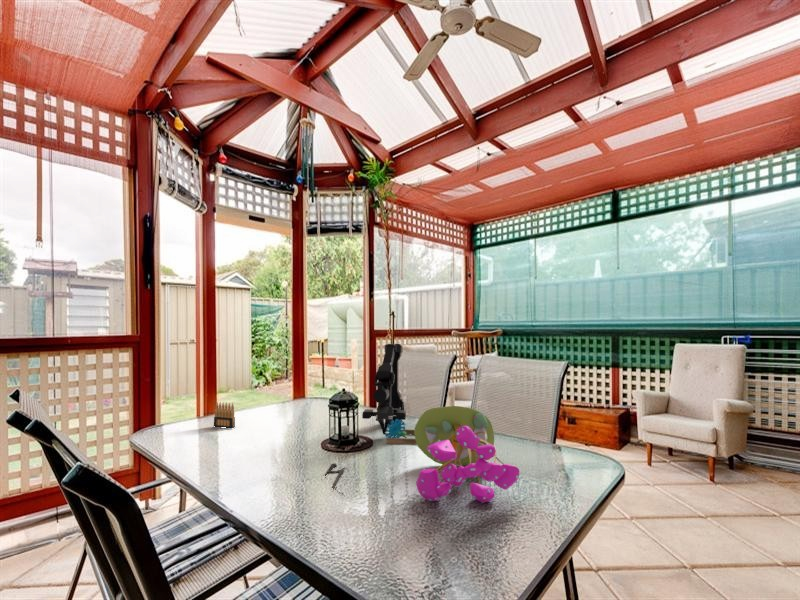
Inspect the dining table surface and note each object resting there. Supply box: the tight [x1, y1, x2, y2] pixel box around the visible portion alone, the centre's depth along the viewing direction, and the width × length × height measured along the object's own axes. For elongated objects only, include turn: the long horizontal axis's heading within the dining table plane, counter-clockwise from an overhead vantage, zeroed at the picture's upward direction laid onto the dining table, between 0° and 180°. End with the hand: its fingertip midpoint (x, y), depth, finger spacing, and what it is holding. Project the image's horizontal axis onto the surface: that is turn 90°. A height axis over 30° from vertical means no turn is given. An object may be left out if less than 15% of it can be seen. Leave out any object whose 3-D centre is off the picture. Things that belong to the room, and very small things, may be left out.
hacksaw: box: [324, 462, 346, 495], centre depth 119 cm, size 24×10×2 cm, turn 173°
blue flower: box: [384, 419, 408, 439], centre depth 164 cm, size 11×6×10 cm
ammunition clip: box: [213, 401, 236, 429], centre depth 179 cm, size 11×2×12 cm, turn 75°
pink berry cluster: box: [413, 405, 520, 504], centre depth 114 cm, size 30×28×35 cm
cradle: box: [386, 428, 417, 445], centre depth 162 cm, size 14×20×3 cm
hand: (384, 434), depth 162 cm, fingers closed
